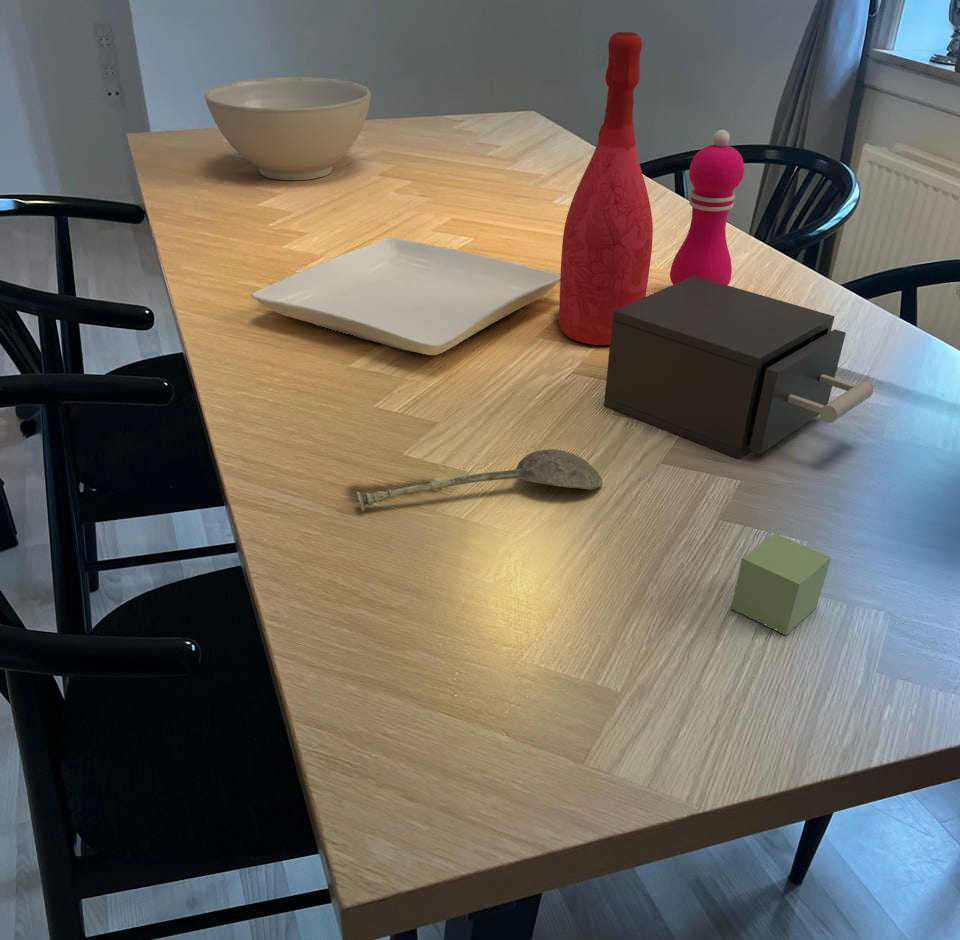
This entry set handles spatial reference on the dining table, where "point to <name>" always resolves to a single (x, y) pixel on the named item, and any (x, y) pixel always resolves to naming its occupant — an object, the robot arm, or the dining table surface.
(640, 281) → the wine bottle
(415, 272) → the square plate
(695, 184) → the pepper mill
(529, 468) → the soupspoon
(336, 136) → the decorative bowl
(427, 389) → the dining table surface
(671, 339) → the drawer cabinet
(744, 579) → the block
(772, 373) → the open drawer with handle
